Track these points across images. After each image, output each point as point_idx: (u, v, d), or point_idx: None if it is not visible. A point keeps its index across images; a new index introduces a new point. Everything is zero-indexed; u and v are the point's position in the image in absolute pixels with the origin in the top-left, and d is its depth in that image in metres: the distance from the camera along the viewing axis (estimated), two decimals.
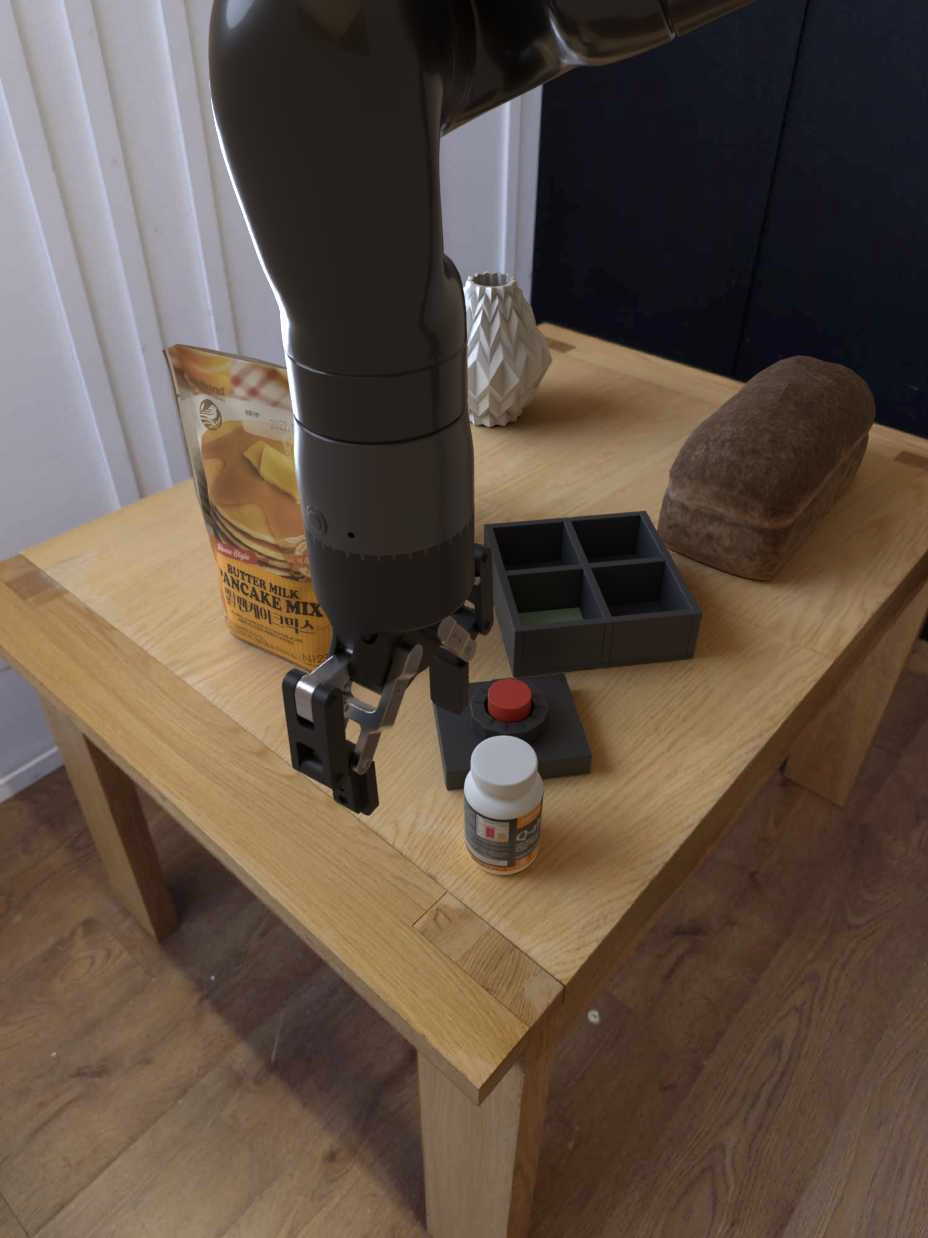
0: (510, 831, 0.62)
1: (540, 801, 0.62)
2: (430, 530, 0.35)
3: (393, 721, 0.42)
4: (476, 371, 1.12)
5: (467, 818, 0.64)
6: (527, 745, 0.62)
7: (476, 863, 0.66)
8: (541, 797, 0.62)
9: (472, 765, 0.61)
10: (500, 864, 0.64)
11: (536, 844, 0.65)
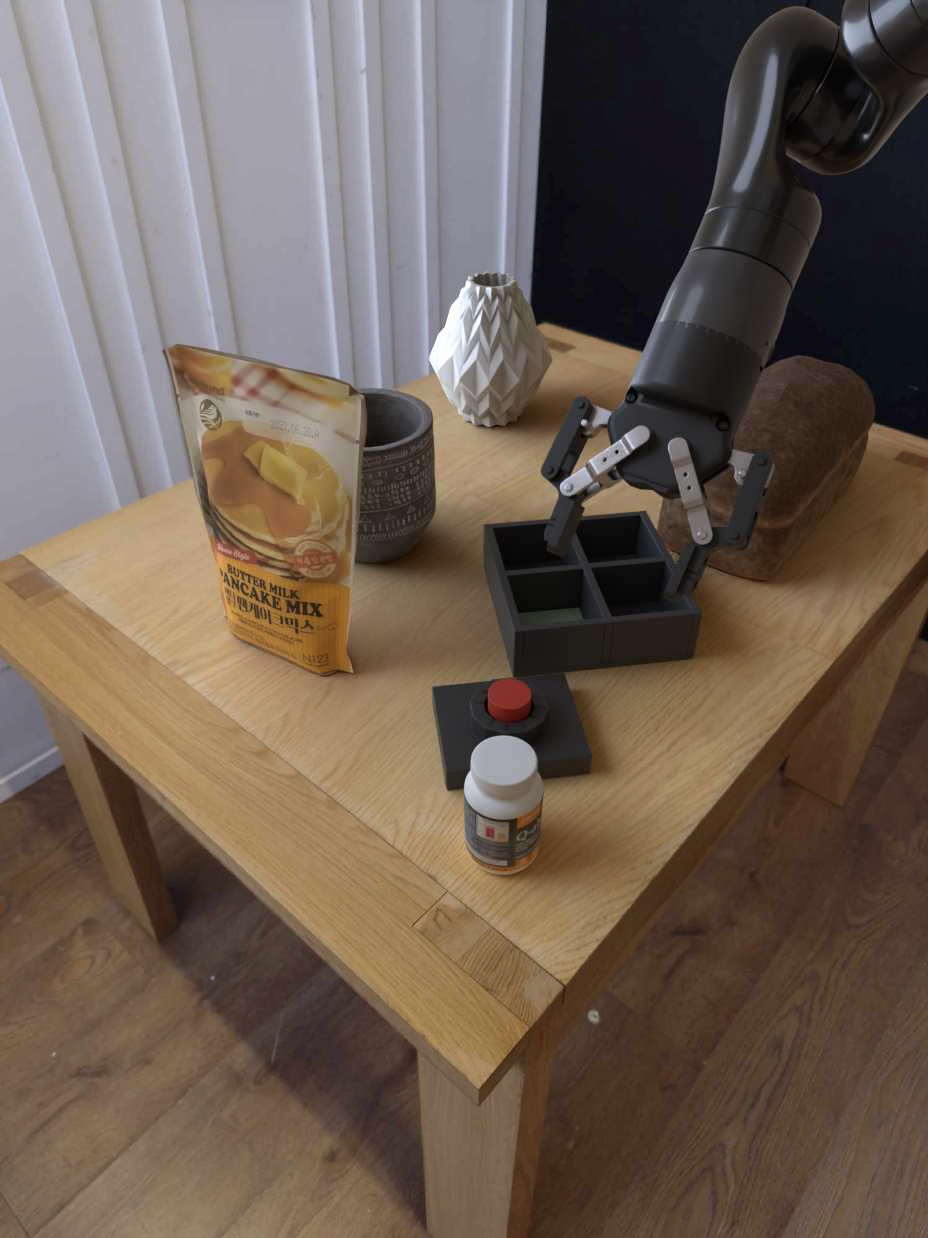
0: (510, 831, 0.62)
1: (540, 801, 0.62)
2: (679, 308, 0.54)
3: (599, 471, 0.57)
4: (476, 371, 1.12)
5: (467, 818, 0.64)
6: (527, 745, 0.62)
7: (476, 863, 0.66)
8: (541, 797, 0.62)
9: (472, 765, 0.61)
10: (500, 864, 0.64)
11: (536, 844, 0.65)
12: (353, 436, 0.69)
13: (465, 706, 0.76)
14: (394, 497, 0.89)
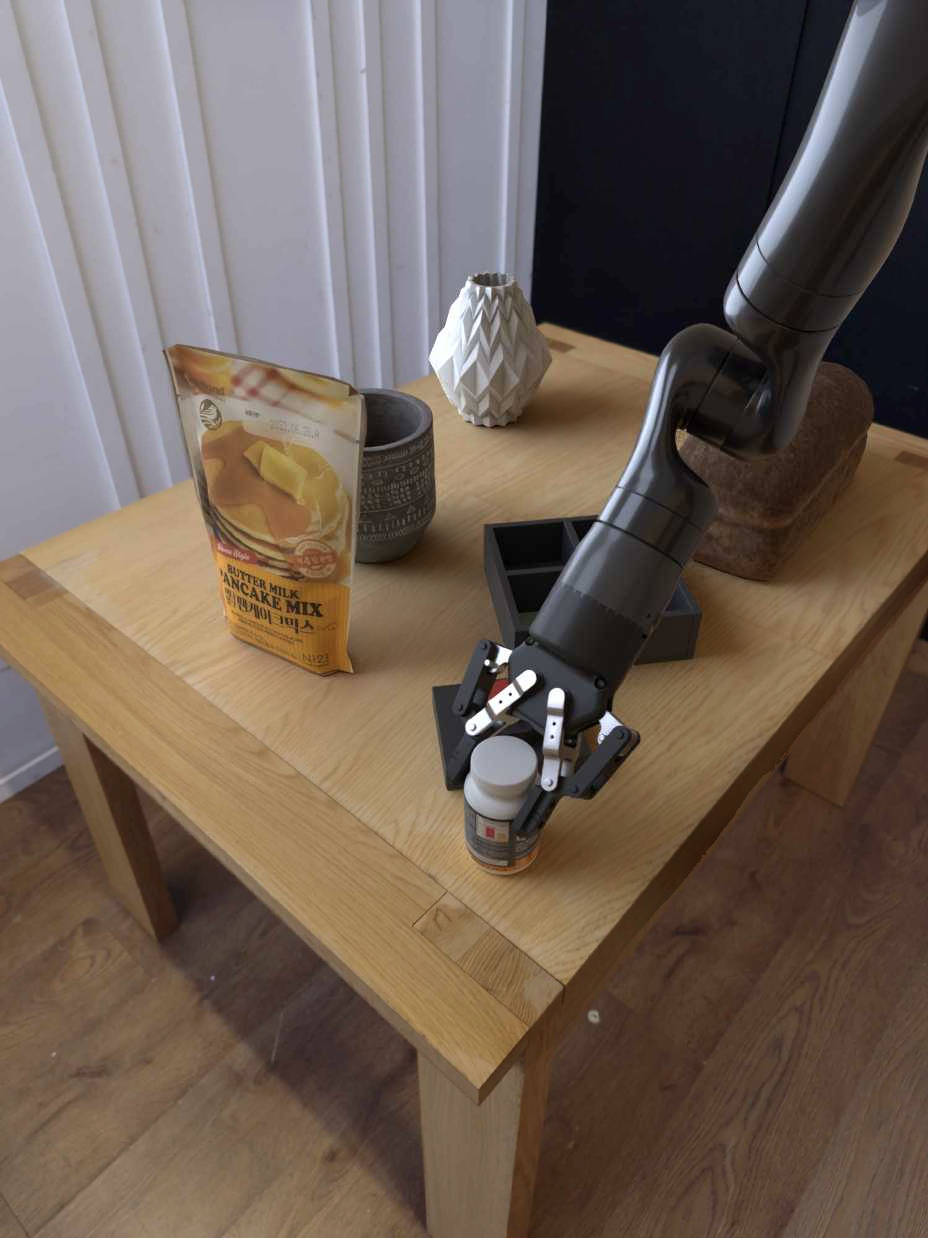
0: (510, 831, 0.62)
1: None
2: (572, 573, 0.60)
3: (496, 712, 0.62)
4: (476, 371, 1.12)
5: (467, 818, 0.64)
6: (527, 745, 0.62)
7: (476, 863, 0.66)
8: None
9: (472, 765, 0.61)
10: (500, 864, 0.64)
11: (536, 844, 0.65)
12: (353, 436, 0.69)
13: None
14: (394, 497, 0.89)
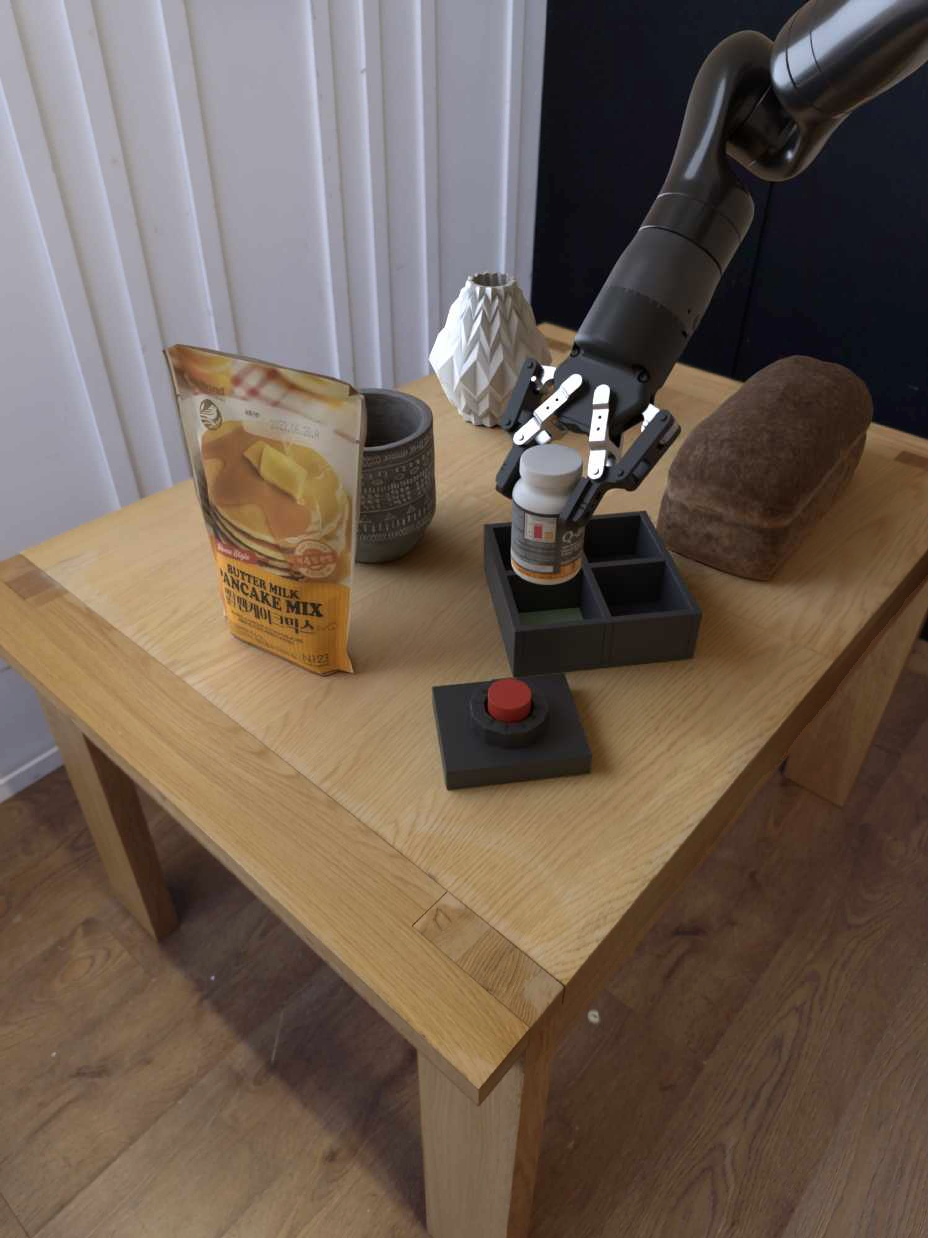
0: (557, 528, 0.66)
1: None
2: (616, 275, 0.63)
3: (543, 417, 0.66)
4: (476, 371, 1.12)
5: (515, 524, 0.68)
6: (572, 449, 0.66)
7: (522, 575, 0.70)
8: None
9: (522, 463, 0.65)
10: (546, 570, 0.68)
11: (579, 555, 0.69)
12: (353, 436, 0.69)
13: (465, 706, 0.76)
14: (394, 497, 0.89)
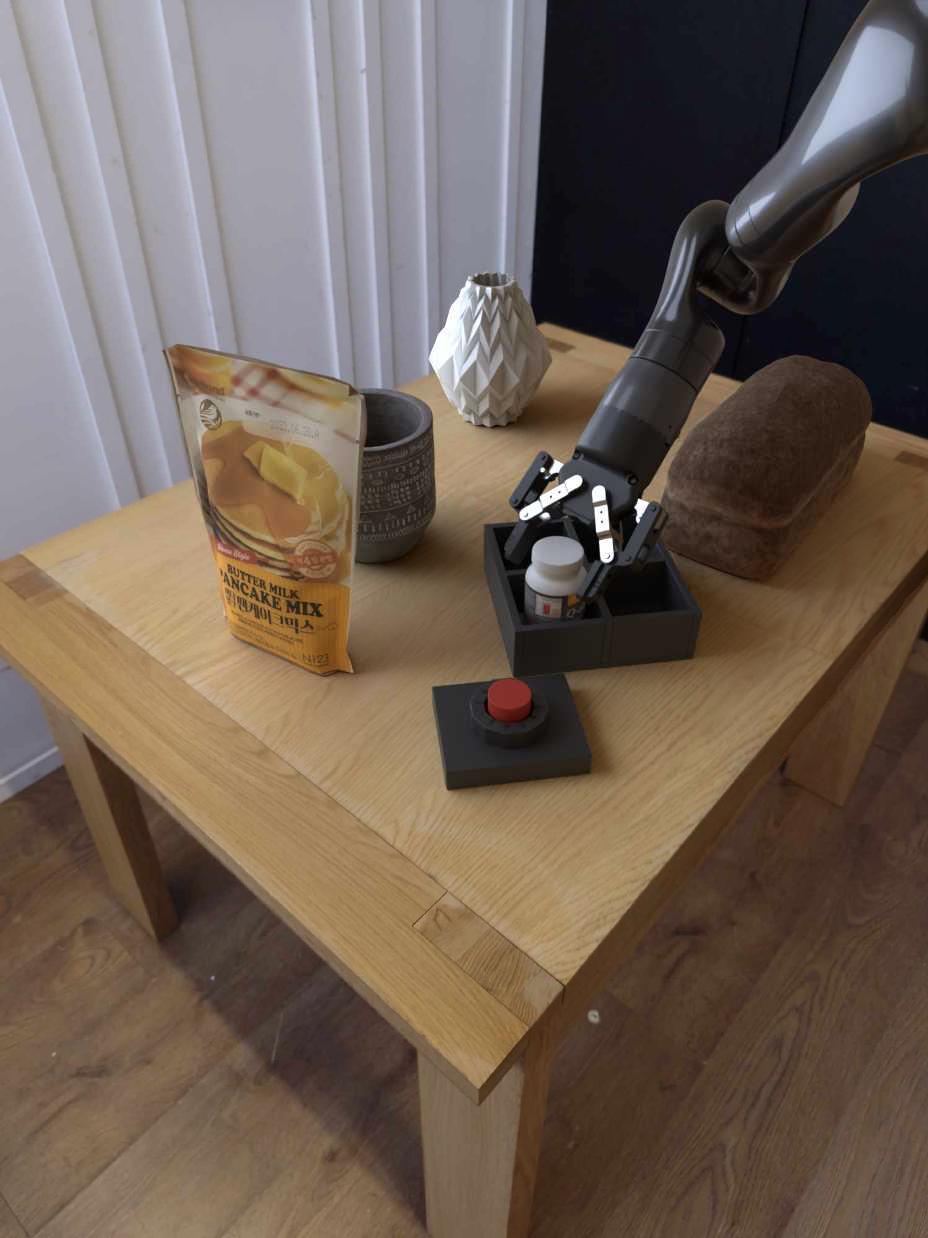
0: (562, 607, 0.80)
1: None
2: (611, 396, 0.77)
3: (546, 504, 0.80)
4: (476, 371, 1.12)
5: (527, 602, 0.82)
6: (575, 541, 0.80)
7: None
8: None
9: (533, 553, 0.79)
10: None
11: None
12: (353, 436, 0.69)
13: (465, 706, 0.76)
14: (394, 497, 0.89)
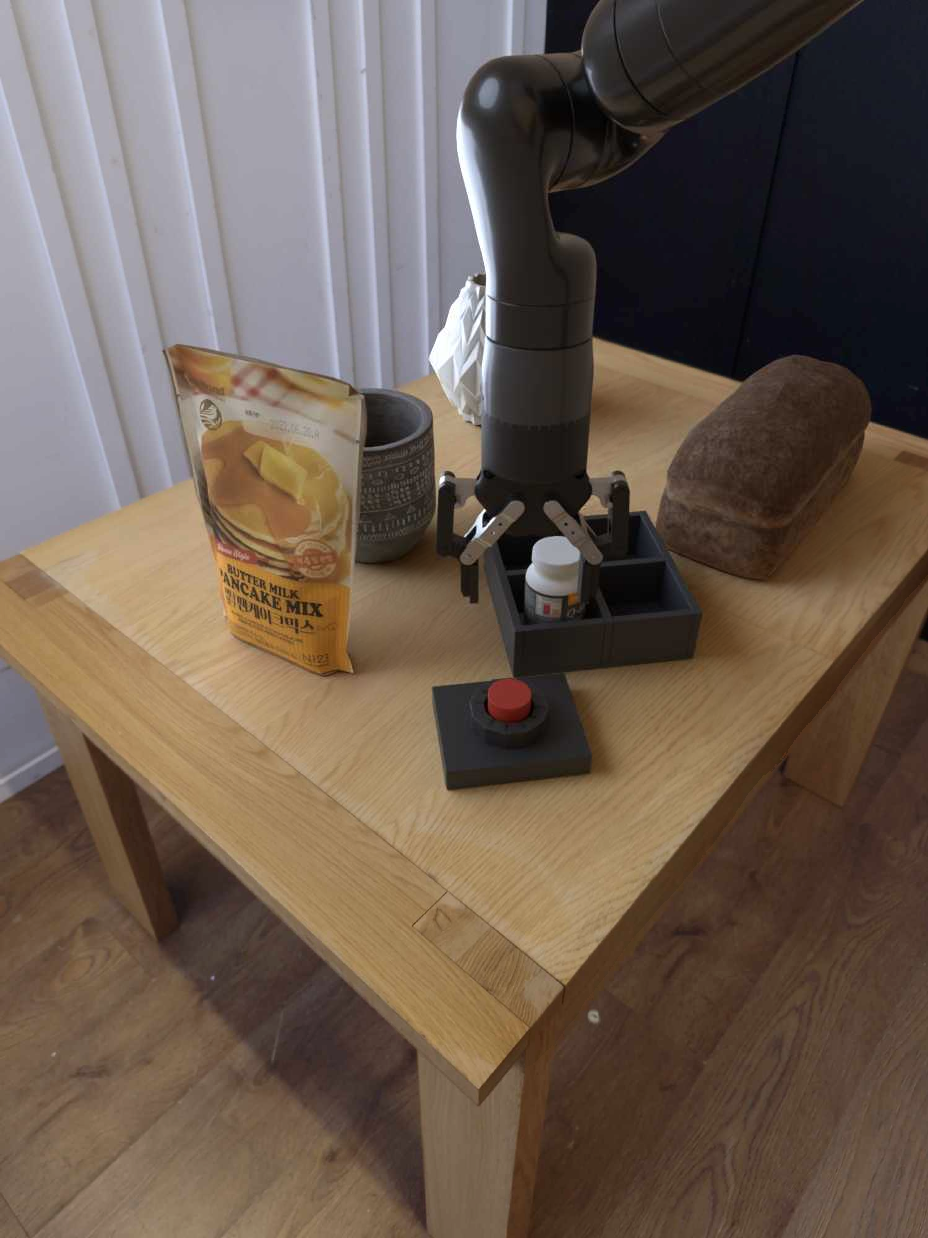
0: (562, 607, 0.80)
1: None
2: (514, 411, 0.57)
3: (492, 542, 0.65)
4: (476, 371, 1.12)
5: (528, 601, 0.82)
6: None
7: None
8: None
9: (534, 553, 0.79)
10: None
11: None
12: (353, 436, 0.69)
13: (465, 706, 0.76)
14: (394, 497, 0.89)
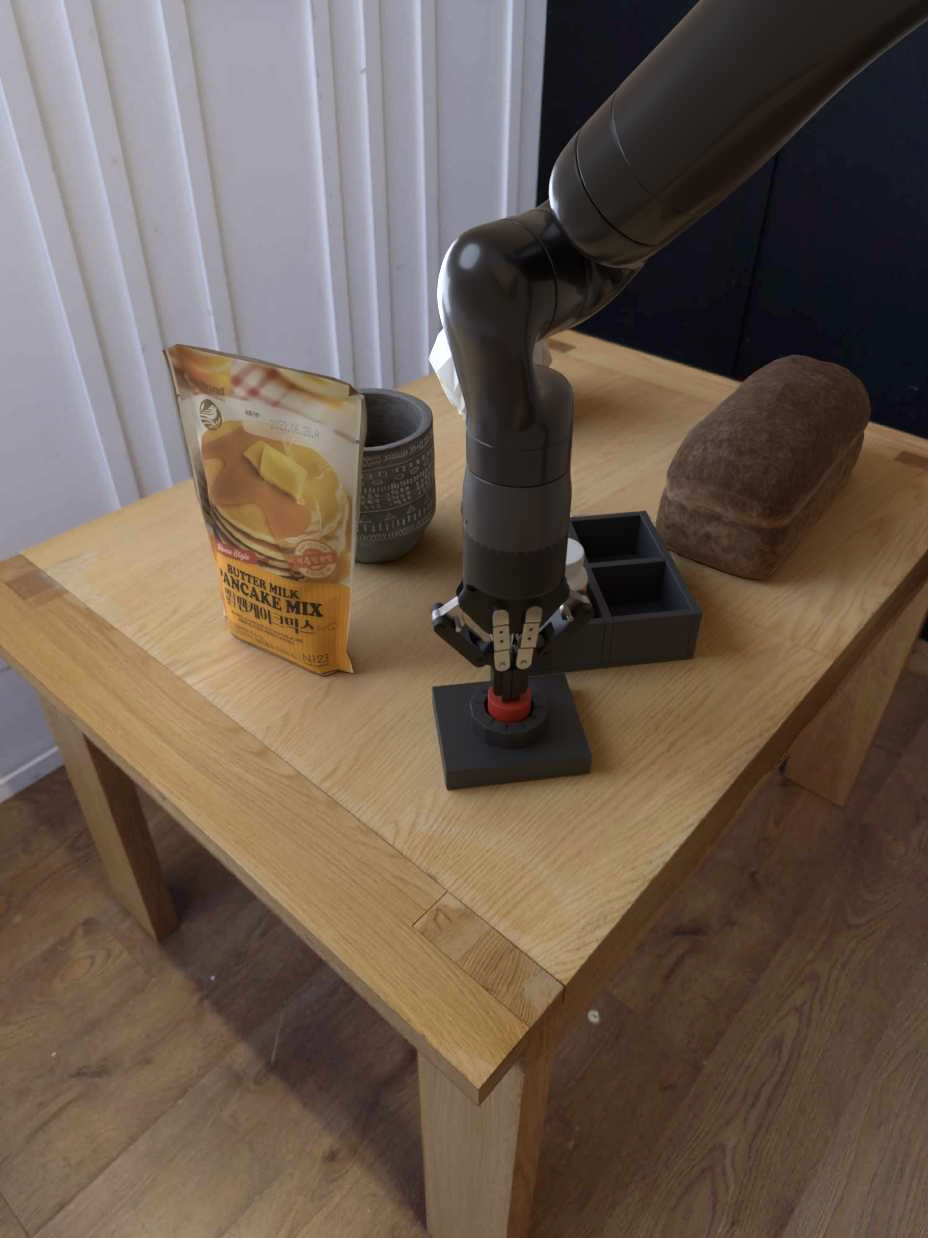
0: None
1: (585, 585, 0.80)
2: (501, 540, 0.59)
3: (508, 647, 0.67)
4: None
5: None
6: (575, 541, 0.80)
7: None
8: (586, 582, 0.80)
9: None
10: None
11: None
12: (353, 436, 0.69)
13: (465, 706, 0.76)
14: (394, 497, 0.89)
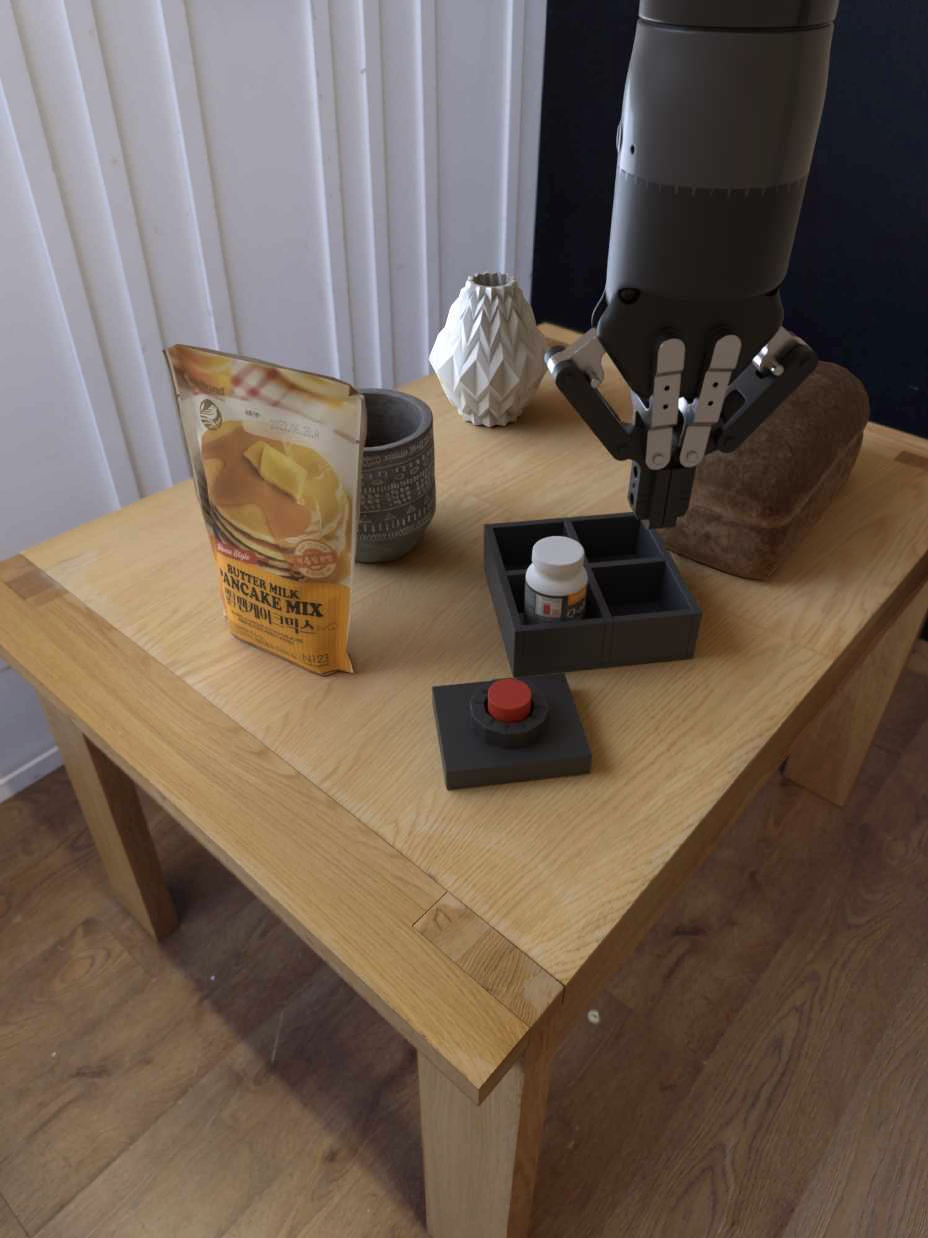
0: (562, 607, 0.80)
1: (585, 585, 0.80)
2: (705, 163, 0.32)
3: (674, 418, 0.41)
4: (476, 371, 1.12)
5: (528, 601, 0.82)
6: (575, 541, 0.80)
7: None
8: (586, 582, 0.80)
9: (534, 553, 0.79)
10: None
11: None
12: (353, 436, 0.69)
13: (465, 706, 0.76)
14: (394, 497, 0.89)
